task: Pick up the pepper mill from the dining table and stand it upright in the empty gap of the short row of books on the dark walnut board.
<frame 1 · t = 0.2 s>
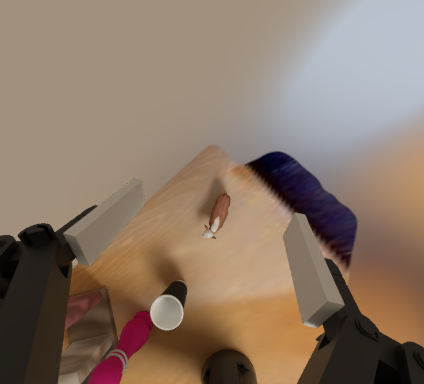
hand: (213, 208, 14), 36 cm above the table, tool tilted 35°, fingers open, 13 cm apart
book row: (92, 323, 51), on the table
dixie cup: (179, 287, 50), on the table
bull figurine: (218, 214, 50), on the table
pepper mill: (143, 321, 50), on the table
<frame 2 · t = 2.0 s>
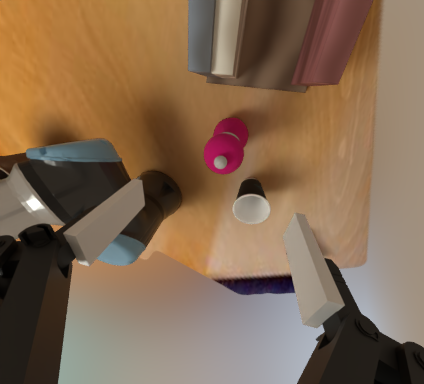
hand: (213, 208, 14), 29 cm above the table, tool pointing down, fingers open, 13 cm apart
plant pot: (64, 165, 53), on the table
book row: (262, 40, 29), on the table
dixie cup: (250, 185, 45), on the table
pepper mill: (232, 131, 38), on the table
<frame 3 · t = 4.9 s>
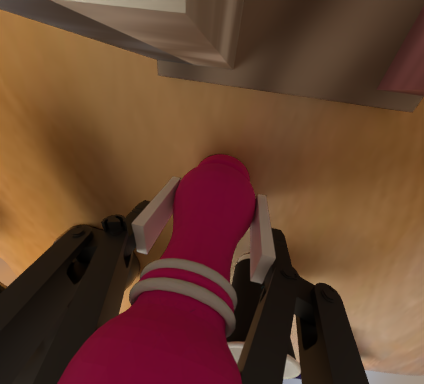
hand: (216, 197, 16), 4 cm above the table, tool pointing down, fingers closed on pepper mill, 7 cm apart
dixie cup: (253, 262, 25), on the table
pepper mill: (221, 179, 19), on the table, touching gripper
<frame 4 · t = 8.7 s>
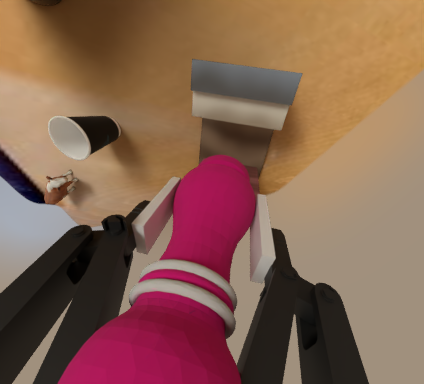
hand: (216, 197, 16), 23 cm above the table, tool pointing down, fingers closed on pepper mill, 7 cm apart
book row: (236, 131, 34), on the table
dixie cup: (111, 127, 39), on the table
bull figurine: (73, 179, 51), on the table
pepper mill: (221, 180, 19), point 19 cm above the table, touching gripper
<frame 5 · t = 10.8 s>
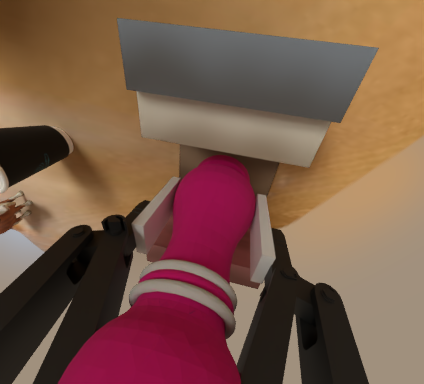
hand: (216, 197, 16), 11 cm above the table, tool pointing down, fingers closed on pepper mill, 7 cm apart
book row: (229, 148, 24), on the table
dixie cup: (61, 140, 29), on the table
bull figurine: (27, 202, 40), on the table
pepper mill: (221, 180, 19), point 7 cm above the table, touching gripper
when the fingers open (6 cm above the table, at t = 12.2 s): pepper mill drops 1 cm, resting on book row.
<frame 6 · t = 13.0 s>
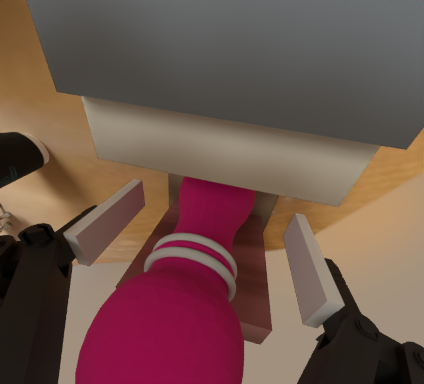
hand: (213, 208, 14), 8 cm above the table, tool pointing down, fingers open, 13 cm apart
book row: (226, 159, 20), on the table
dixie cup: (35, 148, 25), on the table
bull figurine: (6, 213, 37), on the table
pepper mill: (223, 174, 20), point 1 cm above the table, touching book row
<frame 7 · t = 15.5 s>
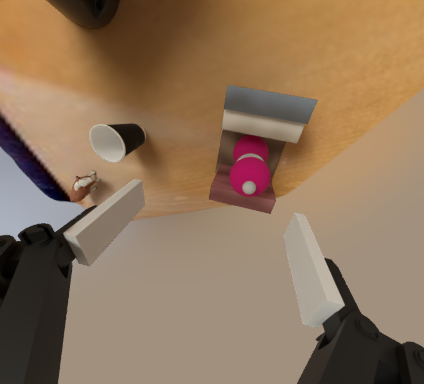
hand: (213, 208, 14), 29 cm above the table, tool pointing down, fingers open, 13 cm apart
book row: (252, 140, 38), on the table
dixie cup: (138, 133, 43), on the table
bull figurine: (95, 179, 55), on the table
pepper mill: (250, 147, 38), point 1 cm above the table, touching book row
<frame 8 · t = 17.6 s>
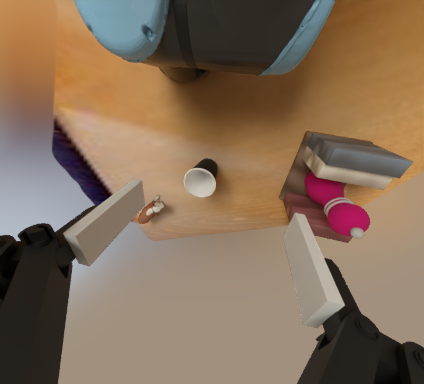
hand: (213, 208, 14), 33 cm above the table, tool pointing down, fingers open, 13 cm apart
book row: (318, 172, 43), on the table
dixie cup: (209, 165, 48), on the table
bull figurine: (157, 202, 60), on the table
pepper mill: (317, 179, 43), point 1 cm above the table, touching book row
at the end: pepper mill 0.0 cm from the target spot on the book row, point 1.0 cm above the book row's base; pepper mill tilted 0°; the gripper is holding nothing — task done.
